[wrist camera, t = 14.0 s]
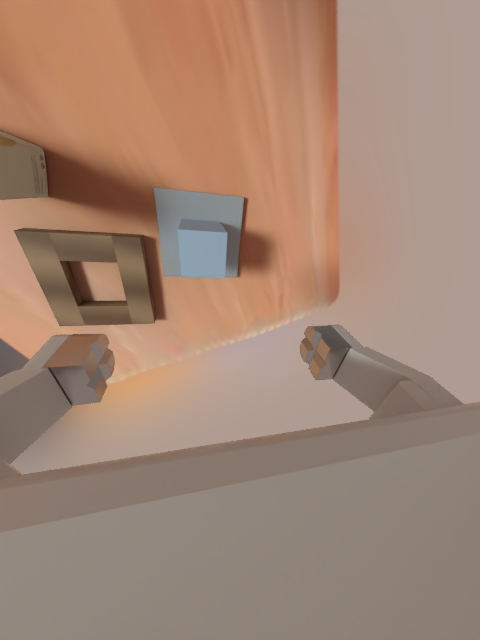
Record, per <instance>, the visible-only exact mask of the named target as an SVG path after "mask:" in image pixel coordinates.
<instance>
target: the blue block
mask: <svg viewBox="0 0 480 640" xmlns="http://www.w3.org/2000/svg"><path fill="white" fill-rule="evenodd" d="M178 239H179V254H180V268H181V277H201V278H225V269H226V251H227V231H226V230H225V229H224V227H223V226H222V224H221V223H220V222H217V221H204V220H191V219H181V222H180V225H179V227H178Z"/></svg>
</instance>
